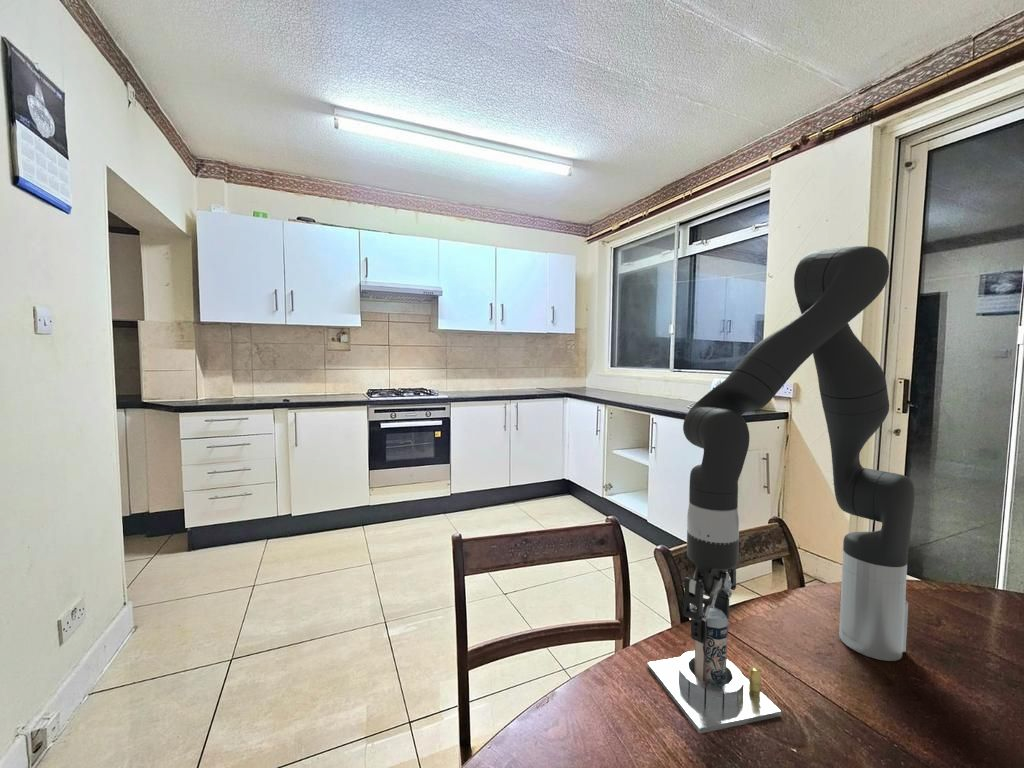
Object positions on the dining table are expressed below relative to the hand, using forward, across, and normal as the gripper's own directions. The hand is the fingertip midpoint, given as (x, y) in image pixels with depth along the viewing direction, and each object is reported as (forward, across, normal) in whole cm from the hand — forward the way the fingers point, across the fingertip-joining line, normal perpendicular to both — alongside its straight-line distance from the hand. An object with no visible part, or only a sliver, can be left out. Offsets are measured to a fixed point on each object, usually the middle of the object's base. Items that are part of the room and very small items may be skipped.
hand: (710, 628), depth 71 cm
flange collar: (+10, -1, 0) cm, 10 cm away
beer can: (+9, 0, 0) cm, 9 cm away
